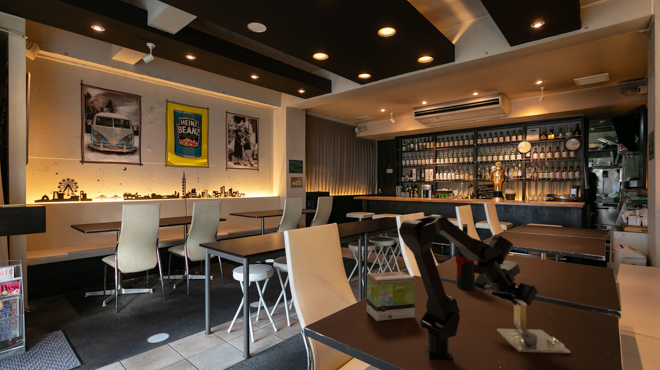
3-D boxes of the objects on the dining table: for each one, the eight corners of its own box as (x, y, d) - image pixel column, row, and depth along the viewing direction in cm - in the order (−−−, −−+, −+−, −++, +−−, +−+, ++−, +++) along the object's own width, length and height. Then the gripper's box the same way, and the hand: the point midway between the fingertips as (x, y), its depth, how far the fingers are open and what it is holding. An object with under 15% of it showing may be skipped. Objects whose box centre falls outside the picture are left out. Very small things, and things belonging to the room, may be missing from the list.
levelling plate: (570, 353, 91) (570, 342, 91) (518, 351, 92) (518, 341, 92) (541, 331, 105) (541, 322, 105) (496, 330, 106) (496, 321, 106)
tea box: (377, 322, 112) (377, 280, 113) (366, 312, 122) (366, 273, 122) (415, 317, 117) (415, 276, 117) (402, 308, 126) (401, 270, 126)
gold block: (539, 346, 93) (538, 307, 93) (523, 344, 94) (522, 306, 94) (523, 324, 108) (522, 291, 108) (510, 322, 109) (509, 290, 110)
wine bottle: (450, 287, 152) (449, 224, 153) (463, 284, 158) (462, 223, 159) (465, 291, 146) (464, 225, 147) (478, 288, 152) (477, 224, 152)
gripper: (534, 258, 95) (556, 292, 99) (480, 248, 112) (501, 278, 116) (516, 288, 91) (540, 322, 96) (463, 273, 108) (486, 302, 112)
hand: (515, 304), depth 105 cm, fingers closed
